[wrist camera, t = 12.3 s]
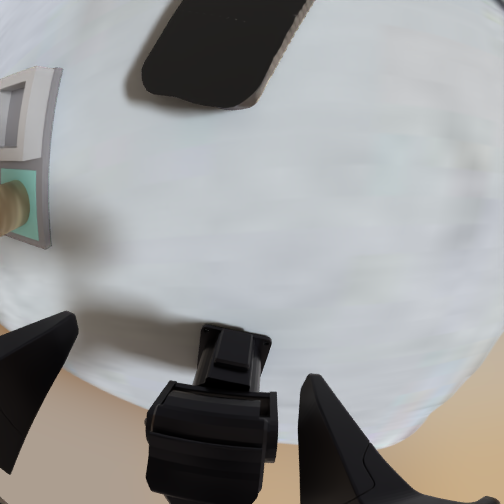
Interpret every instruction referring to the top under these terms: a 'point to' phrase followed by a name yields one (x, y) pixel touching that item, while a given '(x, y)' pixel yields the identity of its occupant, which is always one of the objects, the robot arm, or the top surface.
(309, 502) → the robot arm
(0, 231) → the maple post
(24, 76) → the jig board
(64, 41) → the top surface
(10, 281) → the top surface
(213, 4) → the black sponge
